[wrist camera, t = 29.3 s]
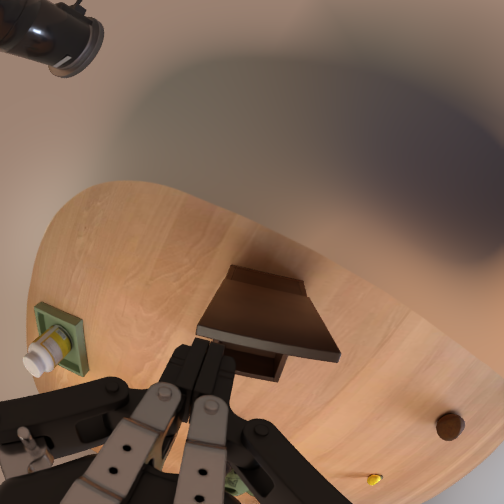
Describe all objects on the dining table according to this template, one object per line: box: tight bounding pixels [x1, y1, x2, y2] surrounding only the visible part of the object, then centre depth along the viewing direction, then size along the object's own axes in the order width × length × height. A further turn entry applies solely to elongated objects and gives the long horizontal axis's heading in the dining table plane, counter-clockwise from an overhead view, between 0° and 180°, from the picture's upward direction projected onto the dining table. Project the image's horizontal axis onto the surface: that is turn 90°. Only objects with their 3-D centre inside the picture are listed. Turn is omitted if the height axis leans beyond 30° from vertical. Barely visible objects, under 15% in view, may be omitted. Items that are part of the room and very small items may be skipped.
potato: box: [436, 414, 465, 441], centre depth 46 cm, size 7×10×7 cm
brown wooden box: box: [213, 265, 307, 382], centre depth 40 cm, size 15×11×6 cm
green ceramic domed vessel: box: [224, 468, 255, 497], centre depth 52 cm, size 16×13×9 cm
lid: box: [196, 279, 341, 363], centre depth 27 cm, size 16×11×1 cm
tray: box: [34, 302, 89, 377], centre depth 47 cm, size 14×12×3 cm
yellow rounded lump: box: [367, 475, 383, 485], centre depth 55 cm, size 3×6×4 cm, turn 66°
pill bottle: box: [23, 325, 73, 377], centre depth 42 cm, size 6×6×12 cm
